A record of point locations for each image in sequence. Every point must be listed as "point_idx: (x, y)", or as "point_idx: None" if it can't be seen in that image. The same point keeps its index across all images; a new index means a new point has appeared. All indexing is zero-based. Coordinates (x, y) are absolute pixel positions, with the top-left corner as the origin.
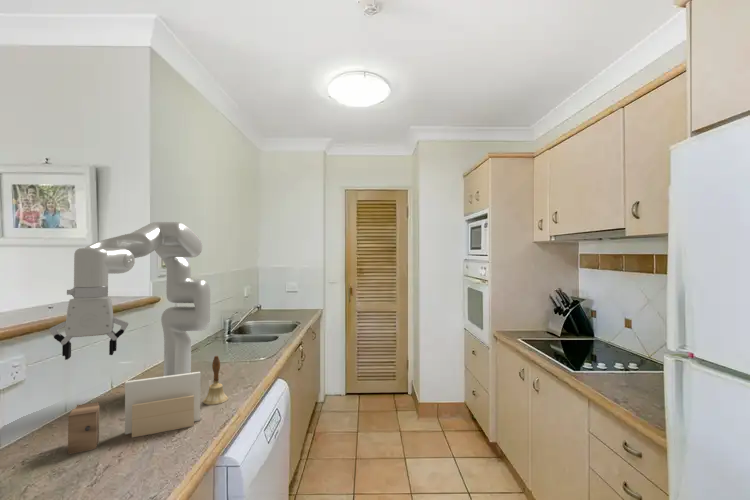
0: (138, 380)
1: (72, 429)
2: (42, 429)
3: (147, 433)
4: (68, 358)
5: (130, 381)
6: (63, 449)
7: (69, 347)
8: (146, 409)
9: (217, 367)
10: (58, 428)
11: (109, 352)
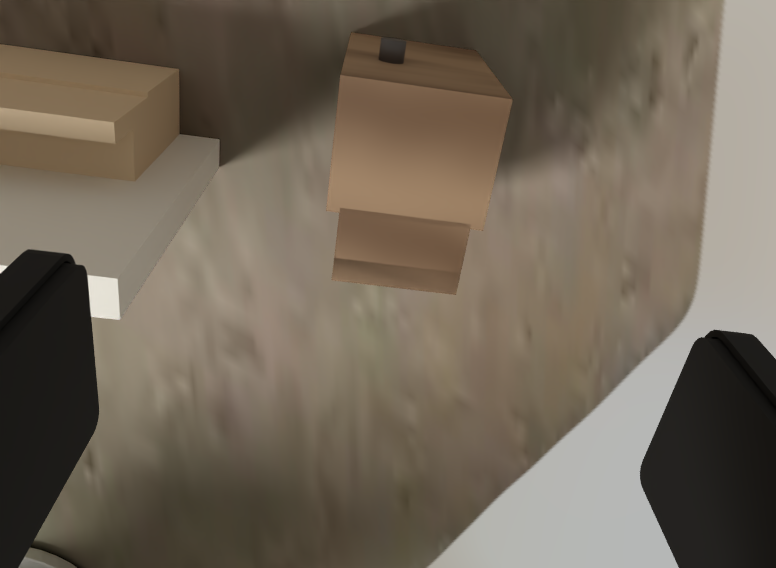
0: None
1: (474, 73)
2: (564, 417)
3: (95, 59)
4: (699, 342)
5: None
6: None
7: (765, 536)
8: (35, 98)
9: None
10: (507, 393)
11: (60, 282)
